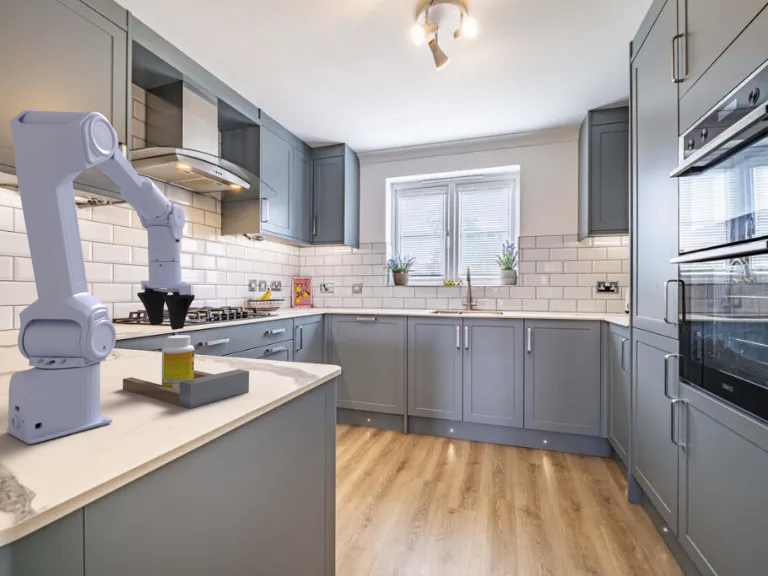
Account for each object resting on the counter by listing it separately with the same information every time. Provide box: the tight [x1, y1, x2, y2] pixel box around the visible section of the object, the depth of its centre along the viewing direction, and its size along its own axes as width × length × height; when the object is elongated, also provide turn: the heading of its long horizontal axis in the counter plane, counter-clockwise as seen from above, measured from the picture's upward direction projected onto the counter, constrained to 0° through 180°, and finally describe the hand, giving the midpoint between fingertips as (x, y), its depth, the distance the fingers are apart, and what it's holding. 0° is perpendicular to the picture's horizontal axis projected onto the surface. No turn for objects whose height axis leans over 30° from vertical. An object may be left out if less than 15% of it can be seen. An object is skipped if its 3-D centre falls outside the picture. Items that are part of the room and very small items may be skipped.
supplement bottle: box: [161, 334, 195, 390], centre depth 75 cm, size 6×6×10 cm
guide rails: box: [122, 369, 215, 406], centre depth 74 cm, size 12×18×2 cm, turn 60°
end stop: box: [178, 368, 250, 409], centre depth 69 cm, size 12×3×4 cm, turn 150°
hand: (166, 326), depth 80 cm, fingers open, 7 cm apart
